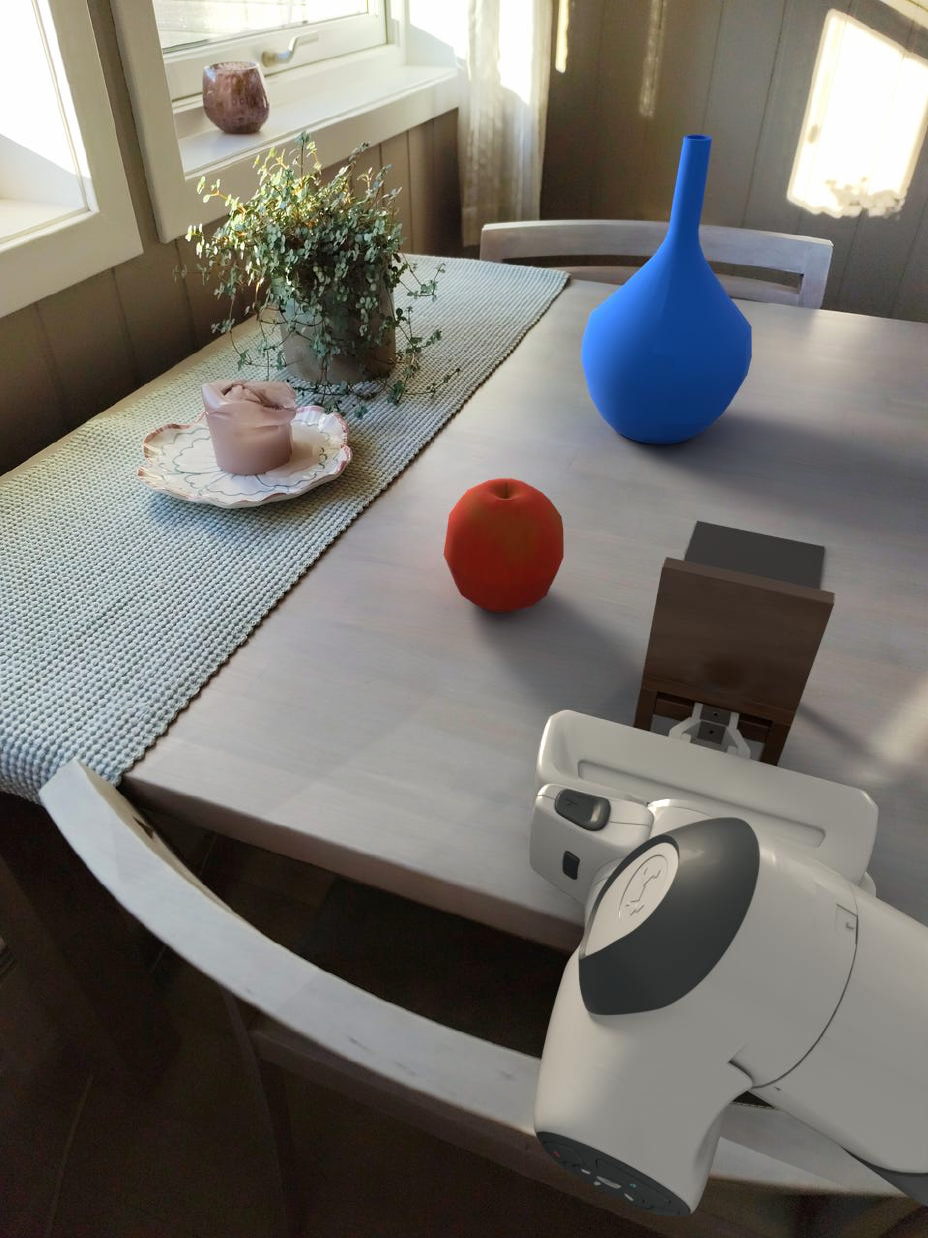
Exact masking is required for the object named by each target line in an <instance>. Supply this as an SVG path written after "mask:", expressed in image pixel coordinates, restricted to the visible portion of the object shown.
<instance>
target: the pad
mask: <svg viewBox="0 0 928 1238" xmlns="http://www.w3.org/2000/svg"><path fill="white" fill-rule="evenodd" d="M824 554H825V546H824V545H819V544H814V543H809V542H804V541H801V540H800V541H798V540H794V539H789V538H785V537H779V536H775V535H770V534H765V533H759V532H755V531H751V530H744V529H739V528H735V527H731V526H725V525H721V524H715V523H712V522H711V523H710V522H705V521H700V520H696V522H695V526H694V528H693V531H692V535H691V538H690V540H689V543H688V546H687V549H686V551H685V555H684V557H683V561H688V562H693V563H697V564H702V565H707V566H711V567H716V568H721V569H726V570H730V571H735V572H740V573H744V574H749V575H754V576H758V577H763V578H768V579H772V580H777V581H782V582H786V583H791V584H796V585H801V586H805V587H810V588H815V589H819V590H820V583H821V577H822V571H823V570H822V568H823V561H824Z"/></svg>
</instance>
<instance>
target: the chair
mask: <svg viewBox="0 0 928 1238" xmlns="http://www.w3.org/2000/svg"><path fill="white" fill-rule="evenodd" d="M835 599H836V593H835V592H832V591H829V590H823V589H820V588H819V589H815V588H810V587H805V586H801V585H796V584H791V583H786V582H782V581H777V580H772V579H768V578H763V577H758V576H754V575H749V574H744V573H740V572H735V571H730V570H726V569H721V568H716V567H711V566H707V565H702V564H697V563H693V562H688V561H684V559H678V558H674V557H669V556H665V558H664V560H663V563H662V566H661V571H660V577H659V583H658V587H657V594H656V600H655V604H654V609H653V615H652V621H651V625H650V631H649V636H648V637H649V638H648V643H647V649H646V654H645V658H644V659H645V660H644V663H643V664H644V665H643V671H642V675H641V679H640V680H641V681H640V688H639V692H638V697H637V704H636V709H635V714H634V720H633V725H632V727H633V728H637V729H641V730H644V731H648V732H652V727H653V722H654V718H655V716H658V717H662V718H666V719H669V720H672V721H676V722H679V723H681V722H683V721H684V720H686V719H687V718H689V717H691V718H692V714H693V710H694V706H695V703H696V702H697V703H701V704H705V705H708V706H712V707H715V708H719V709H723V710H727V711H731V712H736V713H739V718H738V723H737V728H736V729H737V730H739V732H740V734H741V735H742V737H743V739H744V740H748V741H752V742H756V743H759V744H762V746H761V749H760V752H759V755H758V758H757V761H758V762H762V763H766V764H769V765H773V766H777V767H779V766H778V765H779V762H780V760H781V757H782V754H783V752H784V749H785V745H786V743H787V739H788V737H789V735H790V732H791V729H792V725H793V722H794V720H795V717H796V714H797V711H798V708H799V706H800V703H801V700H802V697H803V695H804V692H805V689H806V685H807V683H808V680H809V677H810V674H811V672H812V669H813V666H814V663H815V660H816V657H817V655H818V652H819V648H820V645H821V643H822V640H823V638H824V635H825V632H826V628H827V626H828V623H829V621H830V618H831V615H832V612H833V609H834V606H835Z"/></svg>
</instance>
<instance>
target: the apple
mask: <svg viewBox="0 0 928 1238" xmlns="http://www.w3.org/2000/svg"><path fill="white" fill-rule="evenodd" d="M563 523H564V522H563V517H562V515H561V513H560V512H559V511H558V509H557V508H556V506H555V505H554V503H553V502H552V500H551V499H550V498H548V497H547V495H546V494H544V493H543V491H541V490H539V489H537V488H535V487H533V486H532V485H530V484H528V483H526V482H525V481H522V480H519V479H515V478H513V477H511V478H509V477H508V478H505V477H503V478H502V477H501V478H494V479H489V480H486V481H484V482H481V483H480V484H477V485H476V486H473V487H470V488H469V489H467V490H466V491H465V492H464V494H462V496H461V497H460V498H459V500H458V501H457V502H456V504H455V505H454V507H453V508H452V509H451V511H450V512H449V514H448V521H447V528H446V535H445V541H444V549H443V556H444V560H445V561H446V564H447V566H448V569H449V572H450V574H451V577H452V579H453V582H454V584H455V587H456V588H457V590H458V592H459V593H460V595H461V597H463V598H464V599H466V600H468V601H469V602H470V603H471V604H473V605H475V606H477V607H479V608H482V609H484V610H487V611H490V612H494V613H508V612H512V611H518V610H521V609H524V608H529V607H533V606H535V605H537V604H538V603H539V602H540V601H542V599H545V597H547V595H548V593H549V591H550V589H551V588H552V587H551V586H552V585H553V582H554V581H555V579H556V576H557V575H558V572H559V570H560V567H561V566H562V565H561V564H562V562H563V559H564V555H565V554H564V552H565V551H564V546H565V545H564V544H565V543H564V524H563Z"/></svg>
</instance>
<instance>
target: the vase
mask: <svg viewBox="0 0 928 1238" xmlns="http://www.w3.org/2000/svg"><path fill="white" fill-rule="evenodd" d="M712 142H713V137H712V136H710V135H706V134H685V135H684V136H683V141H682V145H681V153H680V158H679V165H678V169H677V174H676V175H677V176H676V181H675V187H674V194H673V200H672V205H671V212H670V220H669V227H668V231H667V233H666V235H665V238H664V240H663V242H662V243H661V245H660V246H659V248H658V249H657V251H656V252H655V253H654V255H653V256H651V257H650V258H649V260H648V261H647V262H645V263H644V265H642V266H641V267H640V269H638V270H637V271H636V272H635V273H634V274H633V275H632V276H631V277H630V278H629V279H628V280H627V281H626V282H625V283H623V285H621V286H620V287H619V288H618V289H617V290H615V292H614V293H612V294H611V295H610V296H609V297H607V298H606V299H605V300H604V301H602V303H600V304H599V305H598V306H597V307H596V308H595V309H593V310H592V311H591V312H590V315H589V318H588V320H587V324H586V327H585V330H584V333H583V336H582V340H581V352H580V360H581V364H582V368H583V372H584V376H585V380H586V385H587V388H588V393H589V397H590V398H591V400H592V402H593V404H594V406H595V407H596V409H597V411H598V413H599V415H600V416H601V417H602V418H603V419H604V420H605V421H606V423H608V425H609V426H610V427H611V428H612V429H613V430H614V431H615V432H616V433H618V434H620V435H621V436H623V437H625V438H627V439H630V440H632V441H636V442H641V443H644V444H653V445H671V444H678V443H682V442H685V441H687V440H690V439H691V438H693V437H695V436H697V435H698V434H700V433H702V432H703V431H704V430H706V429H708V428H709V427H711V426H712V425H713V424H714V422H716V421H717V419H719V418H720V417H721V416H722V415H723V414H724V413H725V412H726V410H727V409H728V408H729V406H730V405H731V403H732V401H733V399H734V398H735V396H736V395H737V393H738V392H739V390H740V388H741V386H742V385H743V383H744V381H745V380H746V378H747V377H748V373H749V370H750V366H751V362H752V358H753V340H752V339H753V338H752V337H753V335H752V334H753V333H752V332H753V331H752V325H751V324H750V322H749V321H748V319H747V318H746V317H745V315H744V314H743V313H742V312H741V310H740V309H739V307H738V306H737V304H736V303H735V302H734V301H733V299H732V297H730V295H729V294H728V293H727V291H726V289H725V288H724V286H723V284H722V283H721V282H720V280H719V278H718V277H717V275H716V274H715V272H714V270H713V269H712V267H711V266H710V264H709V263H708V262H709V261H707V259H706V258H705V255H704V252H703V249H702V245H701V242H700V241H701V240H700V232H699V231H700V225H701V218H702V211H703V207H704V206H703V205H704V199H705V193H706V185H707V177H708V170H709V164H710V156H711V148H712Z"/></svg>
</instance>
